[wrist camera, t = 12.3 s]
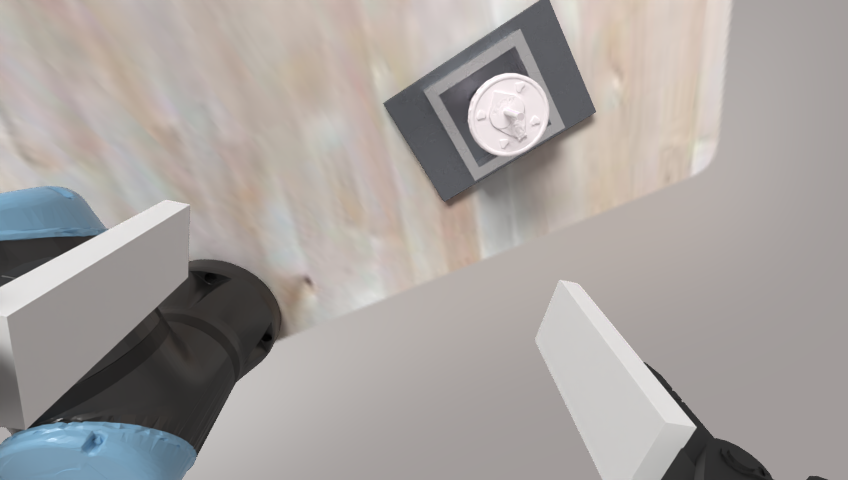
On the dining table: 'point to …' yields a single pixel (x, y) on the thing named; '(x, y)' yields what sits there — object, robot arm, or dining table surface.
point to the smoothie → (508, 114)
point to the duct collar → (461, 78)
